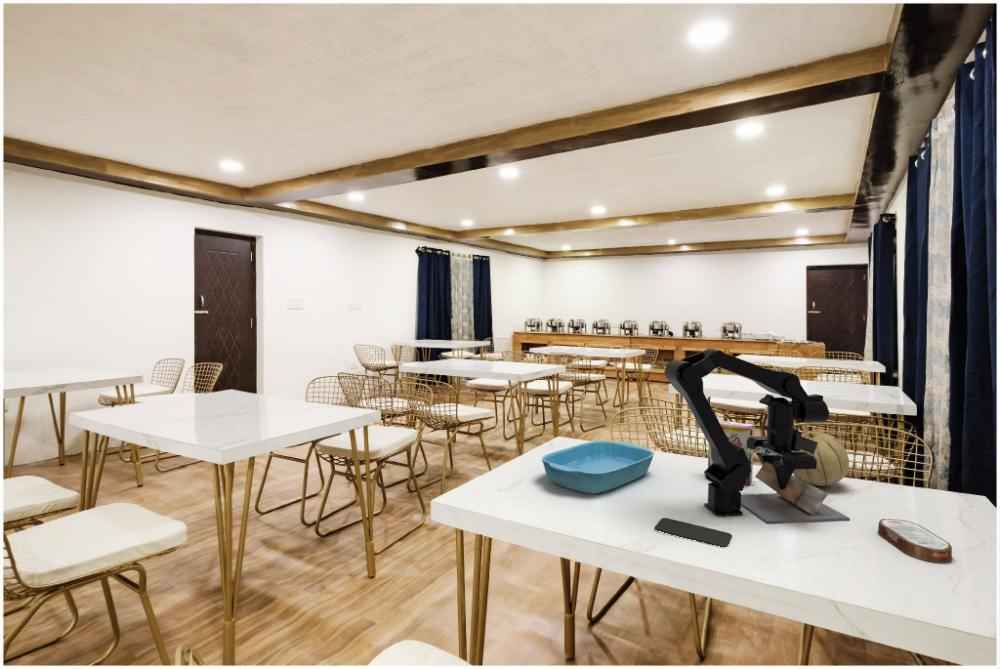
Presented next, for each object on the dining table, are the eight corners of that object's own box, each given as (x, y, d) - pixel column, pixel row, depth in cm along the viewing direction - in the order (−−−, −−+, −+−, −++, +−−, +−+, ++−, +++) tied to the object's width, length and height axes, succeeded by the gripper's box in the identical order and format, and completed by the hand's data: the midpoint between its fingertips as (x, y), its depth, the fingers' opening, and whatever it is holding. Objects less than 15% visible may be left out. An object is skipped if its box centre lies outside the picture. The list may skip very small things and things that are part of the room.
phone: (726, 547, 103) (652, 528, 112) (726, 551, 103) (652, 532, 112) (733, 533, 109) (662, 516, 118) (732, 537, 110) (662, 520, 118)
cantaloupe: (851, 483, 141) (854, 430, 140) (843, 498, 130) (845, 440, 130) (791, 472, 151) (793, 422, 150) (779, 485, 140) (780, 431, 139)
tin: (916, 561, 98) (963, 567, 97) (918, 545, 98) (966, 551, 97) (868, 528, 113) (909, 532, 112) (870, 514, 113) (910, 518, 112)
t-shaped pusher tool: (773, 487, 117) (788, 466, 117) (744, 470, 129) (758, 451, 129) (813, 515, 118) (827, 494, 118) (780, 496, 130) (794, 477, 130)
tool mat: (767, 523, 115) (767, 521, 115) (729, 497, 131) (729, 494, 131) (849, 520, 117) (849, 517, 117) (802, 494, 133) (802, 492, 133)
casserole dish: (602, 456, 167) (603, 435, 167) (666, 472, 151) (666, 449, 151) (526, 484, 142) (526, 458, 141) (593, 506, 126) (593, 478, 125)
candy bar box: (707, 479, 145) (708, 422, 144) (710, 474, 149) (711, 419, 148) (750, 487, 139) (752, 427, 138) (752, 481, 143) (754, 424, 142)
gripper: (841, 432, 114) (838, 500, 115) (786, 414, 133) (784, 473, 134) (794, 432, 113) (791, 501, 114) (746, 415, 132) (744, 474, 133)
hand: (778, 486), depth 124 cm, fingers open, 3 cm apart
